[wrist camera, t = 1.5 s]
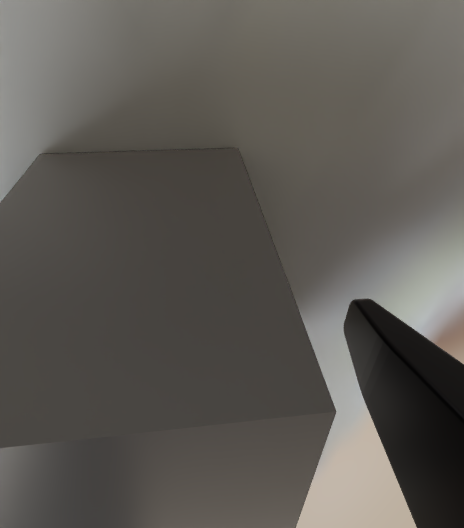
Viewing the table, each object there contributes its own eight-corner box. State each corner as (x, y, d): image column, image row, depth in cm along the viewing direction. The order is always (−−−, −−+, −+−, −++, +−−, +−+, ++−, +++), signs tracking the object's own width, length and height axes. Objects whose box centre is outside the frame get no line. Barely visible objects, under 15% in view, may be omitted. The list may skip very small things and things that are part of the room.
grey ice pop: (231, 419, 14) (258, 633, 10) (128, 430, 14) (103, 659, 9) (238, 147, 8) (336, 410, 3) (40, 154, 7) (-220, 471, 2)
